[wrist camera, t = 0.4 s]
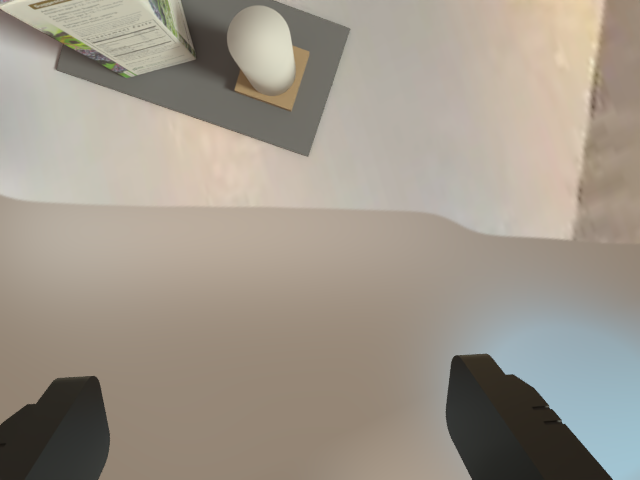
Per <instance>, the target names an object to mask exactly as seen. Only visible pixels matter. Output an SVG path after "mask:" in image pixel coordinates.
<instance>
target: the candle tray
mask: <svg viewBox="0 0 640 480" xmlns="http://www.w3.org/2000/svg"><path fill="white" fill-rule="evenodd" d="M181 3H182V7H183V10H184V14H185V17H186V21H187V25H188V28H189V32H190V35H191V39H192V42H193V46H194V49H195V53H196V57H197V58H196V59H195V60H192V61H189V62H185V63H181V64H177V65H173V66H170V67H166V68H162V69H158V70H154V71H151V72H147V73H143V74H140V75H136V76H133V77H129V78H125V77H123V76H121V75H120V74H118V73H116V72H114V71H112V70H110V69H109V68H107V67H105V66H103V65H102V64H100V63H98V62H96V61H94V60H93V59H91V58H88V57H87V56H85V55H83V54H81V53H79V52H78V51H76V50H74V49H72V48H70V47H68V46H67V45H65V44H63V46H62V50H61V54H60V58H59V63H58V67H57V70H58V71H61V72H64V73H67V74H70V75H73V76H76V77H79V78H82V79H84V80H87V81H90V82H93V83H96V84H99V85H102V86H105V87H108V88H111V89H113V90H116V91H119V92H122V93H125V94H128V95H131V96H134V97H137V98H139V99H142V100H145V101H148V102H151V103H154V104H157V105H160V106H163V107H166V108H168V109H171V110H174V111H177V112H180V113H183V114H186V115H189V116H192V117H195V118H197V119H200V120H203V121H206V122H209V123H212V124H215V125H218V126H221V127H224V128H226V129H229V130H232V131H235V132H238V133H241V134H244V135H247V136H250V137H252V138H255V139H258V140H261V141H264V142H267V143H270V144H273V145H276V146H279V147H281V148H284V149H287V150H290V151H293V152H296V153H299V154H302V155H305V156H308V155H309V152H310V149H311V146H312V143H313V140H314V137H315V134H316V131H317V128H318V125H319V122H320V119H321V116H322V113H323V110H324V107H325V104H326V101H327V98H328V95H329V92H330V89H331V86H332V83H333V80H334V77H335V74H336V71H337V67H338V64H339V61H340V58H341V55H342V52H343V49H344V46H345V43H346V40H347V37H348V34H349V31H350V28H347V27H345V26H342V25H339V24H336V23H334V22H331V21H328V20H326V19H323V18H320V17H317V16H315V15H312V14H309V13H306V12H304V11H301V10H298V9H296V8H293V7H290V6H287V5H285V4H282V3H279V2H276V1H274V0H181Z"/></svg>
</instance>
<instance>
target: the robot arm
mask: <svg viewBox="0 0 640 480" xmlns="http://www.w3.org/2000/svg"><path fill="white" fill-rule="evenodd" d="M446 420H447V426H448V430H449V434H450V436H451V439H452V441H453V442H454V445H455V446H456V448H457V450H458V452H459V454H460V456H461V458H462V460H463V462H464V464H465V466H466V468H467V470H468V472H469V474H470V476H471V478H472V480H613V479H612V478H611V477H610V476H609V475H608V473H607V472H606V471H605V470H604V469H603V467H602V466H601V465H600V464H599V463H598V462H597V460H596V459H595V458H594V457H593V456H592V455H591V454H590V452H589V451H588V450H587V449H586V448H585V447H584V445H583V444H582V443H581V442H580V441H579V440H578V439H577V437H576V436H575V435H574V434H573V433H572V432H571V430H570V429H569V428H568V427H567V426H566V425H565V424H562V420H561V419H560V418H559V416H558V415H557V414H556V413H555V412H554V411H553V410H552V409H550V408H549V405H548V404H547V403H546V401H545V400H544V399H543V398H542V397H541V396H540V394H539V393H538V392H537V391H536V390H535V389H534V388H533V387H531V386H530V385H528V384H527V383H525V382H524V381H522V380H521V379H519V378H518V377H516V376H515V375H513V374H512V375H505V374H504V372H503V371H502V370H501V368H500V367H499V366H498V365H497V364H496V362H495V361H494V360H493V359H492V358H491V356H490V355H488V354H475V355H456V356H454V357H453V359H452V362H451V369H450V378H449V387H448V395H447V404H446ZM109 445H110V433H109V428H108V423H107V417H106V412H105V407H104V402H103V397H102V393H101V387H100V383H99V380H98V379H97V377H95V376H85V377H69V378H57V379H55V380H54V381H53V382H52V383H51V385H50V386H49V387H48V389H47V390H46V391H45V393H44V394H43V395H42V397H41V398H40V399H39V401H38V402H37V403H36V404H27V405H26V406H24V407H23V408H22V409H20V410H19V411H18V412H16V413H15V414H14V415H12V416H11V417H10V418H8V419H7V420H6V421H4V422H3V423H2V424H1V425H0V480H98V479H99V476H100V474H101V472H102V470H103V468H104V465H105V463H106V460H107V457H108V452H109Z"/></svg>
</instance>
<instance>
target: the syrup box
mask: <svg viewBox="0 0 640 480" xmlns="http://www.w3.org/2000/svg"><path fill="white" fill-rule="evenodd" d="M0 9H1V10H3V11H5V12H6V13H8V14H10V15H12V16H14V17H15V18H17V19H19V20H21V21H23V22H25V23H26V24H28V25H30V26H32V27H34V28H35V29H37V30H39V31H41V32H43V33H45V34H47V35H48V36H50V37H52V38H54V39H56V40H58V41H59V42H61V43H63V44H65V45H67V46H68V47H70V48H72V49H74V50H76V51H78V52H79V53H81V54H83V55H85V56H87V57H88V58H91V59H93V60H94V61H96V62H98V63H100V64H102V65H103V66H105V67H107V68H109V69H110V70H112V71H114V72H116V73H118V74H120V75H121V76H123V77H125V78H129V77H133V76H136V75H140V74H143V73H147V72H151V71H154V70H158V69H162V68H166V67H170V66H173V65H177V64H181V63H185V62H189V61H192V60H195V59H196V58H197V57H196V53H195V49H194V46H193V42H192V39H191V35H190V32H189V28H188V25H187V21H186V17H185V14H184V10H183V7H182V3H181V0H0Z"/></svg>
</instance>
